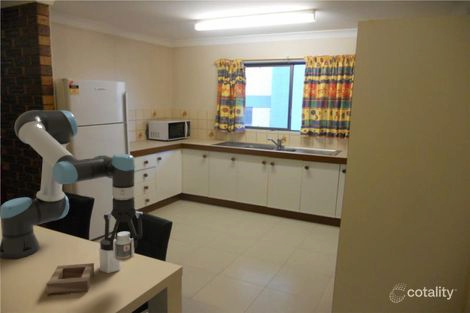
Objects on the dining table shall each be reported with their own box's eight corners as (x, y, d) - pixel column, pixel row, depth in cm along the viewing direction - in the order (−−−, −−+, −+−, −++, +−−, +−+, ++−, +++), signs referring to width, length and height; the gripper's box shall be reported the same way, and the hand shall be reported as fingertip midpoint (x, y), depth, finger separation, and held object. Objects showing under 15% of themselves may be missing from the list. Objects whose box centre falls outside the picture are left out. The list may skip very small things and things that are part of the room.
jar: (102, 275, 128) (101, 246, 127) (98, 266, 135) (97, 239, 133) (125, 269, 133) (124, 242, 131) (120, 261, 140) (119, 234, 138)
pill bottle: (134, 259, 122) (134, 234, 120) (120, 264, 118) (120, 238, 116) (127, 253, 126) (127, 229, 124) (113, 258, 122) (112, 233, 120)
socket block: (58, 276, 126) (57, 265, 125) (94, 273, 129) (93, 263, 129) (47, 295, 114) (46, 284, 113) (87, 292, 117) (87, 280, 116)
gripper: (93, 200, 112) (95, 263, 116) (149, 199, 116) (149, 259, 120) (97, 194, 119) (98, 253, 123) (150, 193, 123) (149, 250, 127)
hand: (123, 256), depth 122 cm, fingers closed on pill bottle, 6 cm apart
